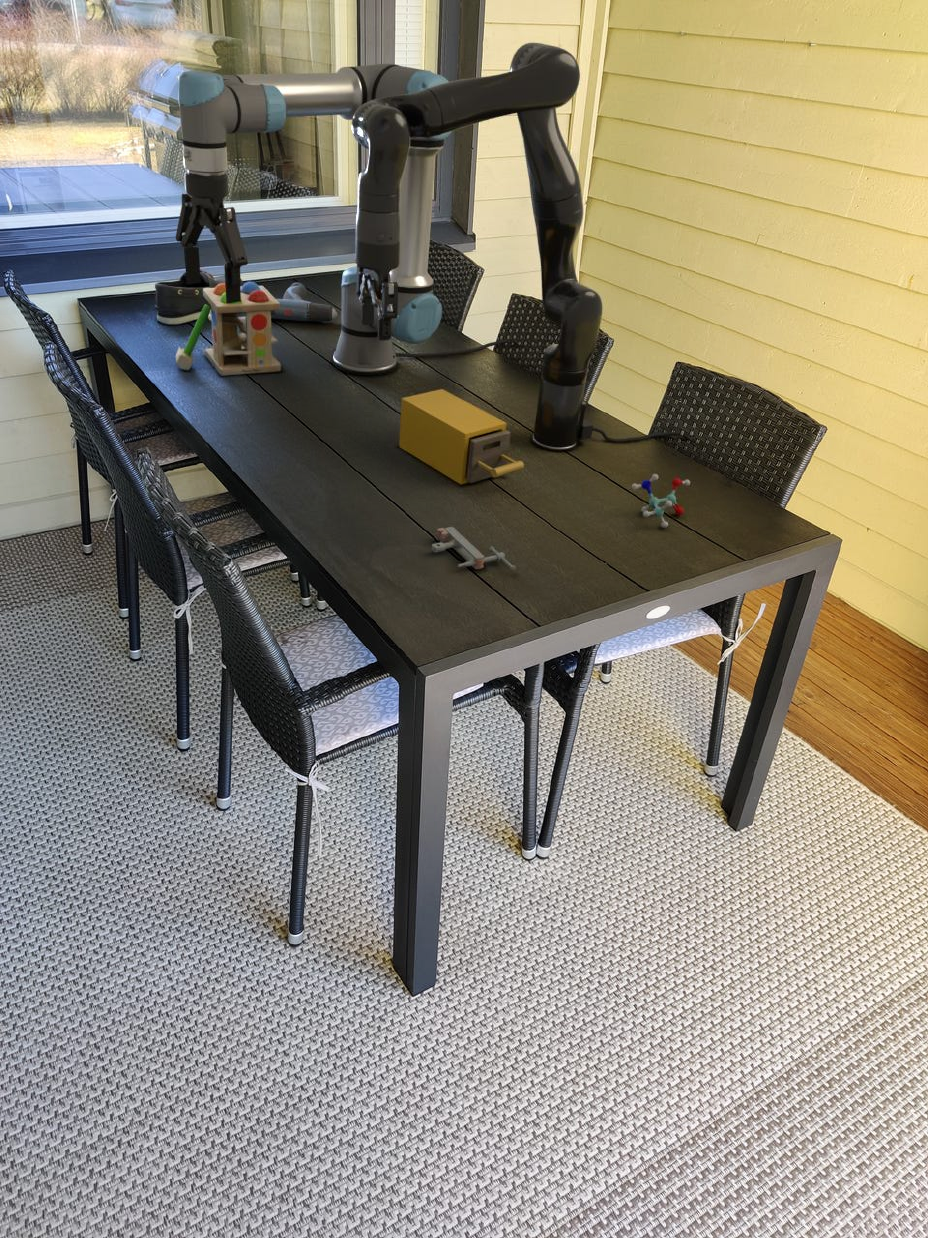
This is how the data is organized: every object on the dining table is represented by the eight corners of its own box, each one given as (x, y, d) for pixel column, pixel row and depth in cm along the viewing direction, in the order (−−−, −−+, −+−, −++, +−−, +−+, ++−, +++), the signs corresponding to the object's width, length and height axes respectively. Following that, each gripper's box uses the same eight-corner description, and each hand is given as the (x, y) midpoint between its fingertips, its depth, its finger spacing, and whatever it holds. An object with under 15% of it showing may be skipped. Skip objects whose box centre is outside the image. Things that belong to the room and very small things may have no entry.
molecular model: (693, 521, 176) (676, 468, 175) (642, 536, 180) (626, 484, 178) (699, 512, 187) (684, 462, 185) (651, 526, 190) (636, 477, 189)
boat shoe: (263, 303, 272) (261, 264, 267) (174, 326, 248) (170, 284, 243) (229, 294, 278) (227, 256, 272) (139, 317, 254) (134, 275, 248)
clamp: (422, 531, 168) (472, 521, 172) (421, 542, 169) (471, 532, 174) (465, 574, 157) (517, 562, 162) (464, 586, 159) (516, 573, 163)
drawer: (525, 483, 189) (531, 443, 185) (490, 495, 184) (494, 453, 179) (446, 438, 204) (449, 399, 199) (411, 447, 199) (413, 408, 194)
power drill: (344, 304, 276) (335, 327, 259) (277, 298, 275) (264, 321, 258) (344, 285, 273) (335, 306, 256) (277, 279, 272) (264, 300, 255)
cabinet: (500, 472, 195) (506, 422, 189) (460, 484, 189) (465, 433, 183) (438, 436, 207) (442, 388, 201) (399, 446, 201) (401, 398, 195)
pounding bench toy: (183, 379, 220) (176, 299, 210) (169, 357, 231) (162, 280, 221) (282, 371, 230) (280, 294, 220) (264, 350, 240) (262, 276, 230)
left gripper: (150, 159, 179) (160, 277, 191) (227, 187, 165) (233, 313, 177) (186, 156, 183) (194, 272, 195) (264, 183, 169) (268, 307, 181)
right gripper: (414, 246, 161) (410, 343, 170) (383, 225, 171) (381, 317, 180) (371, 248, 158) (369, 346, 167) (343, 226, 168) (342, 320, 178)
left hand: (213, 292), depth 186 cm, fingers open, 13 cm apart
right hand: (375, 331), depth 174 cm, fingers open, 8 cm apart
